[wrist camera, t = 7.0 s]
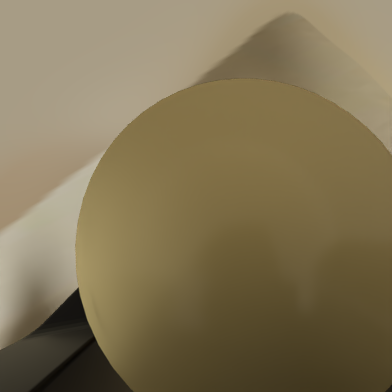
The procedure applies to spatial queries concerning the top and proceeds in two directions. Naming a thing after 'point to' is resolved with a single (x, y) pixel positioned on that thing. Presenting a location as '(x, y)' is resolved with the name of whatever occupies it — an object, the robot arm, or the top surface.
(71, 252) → the top surface
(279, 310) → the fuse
